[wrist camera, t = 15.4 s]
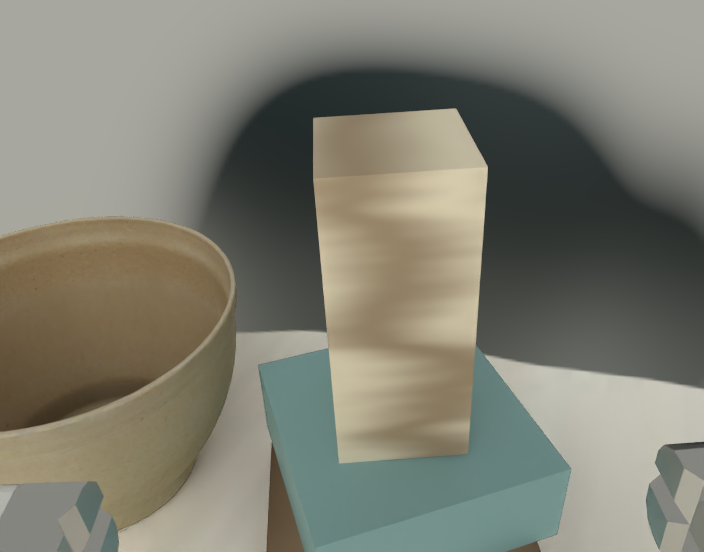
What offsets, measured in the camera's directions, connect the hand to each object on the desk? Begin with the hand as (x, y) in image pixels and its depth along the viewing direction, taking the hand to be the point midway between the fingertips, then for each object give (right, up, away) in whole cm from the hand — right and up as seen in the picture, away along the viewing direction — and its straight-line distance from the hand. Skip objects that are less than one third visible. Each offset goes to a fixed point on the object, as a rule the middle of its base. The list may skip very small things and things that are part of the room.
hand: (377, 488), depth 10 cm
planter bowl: (-13, -7, +26) cm, 30 cm away
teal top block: (+2, -6, +20) cm, 21 cm away
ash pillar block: (+2, -3, +18) cm, 18 cm away
